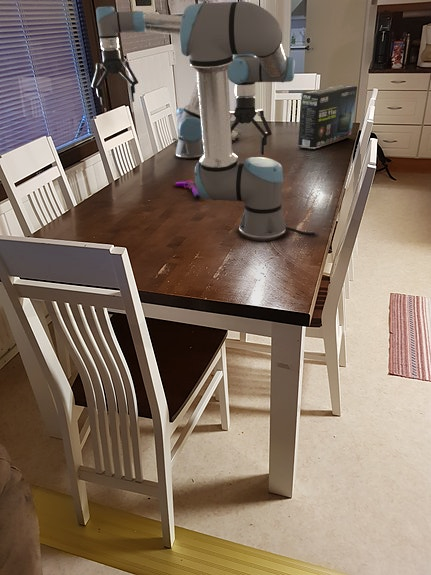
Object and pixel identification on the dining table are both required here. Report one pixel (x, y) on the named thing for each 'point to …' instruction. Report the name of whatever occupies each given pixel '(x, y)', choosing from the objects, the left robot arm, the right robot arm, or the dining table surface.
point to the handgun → (189, 185)
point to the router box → (326, 115)
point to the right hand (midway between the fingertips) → (244, 155)
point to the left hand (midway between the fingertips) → (117, 103)
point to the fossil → (235, 134)
